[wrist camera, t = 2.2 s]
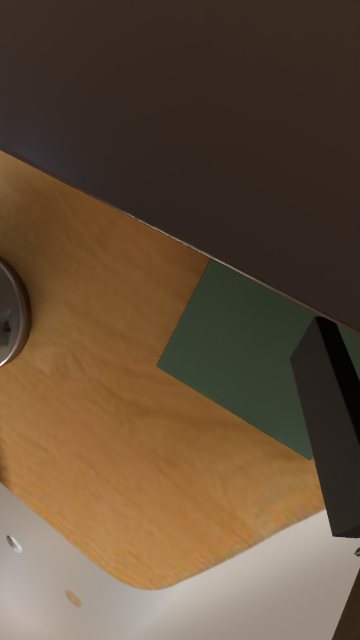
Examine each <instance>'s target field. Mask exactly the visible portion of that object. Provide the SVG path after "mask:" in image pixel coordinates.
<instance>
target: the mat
mask: <svg viewBox="0 0 360 640" xmlns="http://www.w3.org/2000/svg"><path fill="white" fill-rule="evenodd" d="M314 316H320V317H323V316H321V315H319V314H317V313H315V312H313V311H312V310H310V309H308V308H306V307H304V306H302V305H300V304H298V303H296V302H294V301H292V300H290V299H288V298H286V297H284V296H282V295H281V294H279V293H277V292H275V291H273V290H271V289H269V288H267V287H265V286H263V285H261V284H259V283H257V282H255V281H253V280H251V279H250V278H248V277H246V276H244V275H242V274H240V273H238V272H236V271H234V270H232V269H230V268H228V267H226V266H224V265H222V264H220V263H218V262H217V261H215V260H213V259H210V261H209V263H208V265H207V267H206V269H205V271H204V273H203V275H202V277H201V279H200V281H199V283H198V285H197V287H196V289H195V291H194V293H193V295H192V297H191V299H190V301H189V303H188V305H187V307H186V309H185V310H184V312H183V314H182V316H181V318H180V320H179V322H178V324H177V326H176V328H175V330H174V332H173V334H172V336H171V338H170V340H169V342H168V344H167V346H166V348H165V350H164V352H163V354H162V356H161V358H160V360H159V362H158V363H157V365H156V367H158V368H160V369H161V370H163V371H165V372H166V373H168V374H169V375H171V376H173V377H174V378H176V379H178V380H179V381H181V382H183V383H184V384H186V385H187V386H189V387H191V388H192V389H194V390H196V391H197V392H199V393H201V394H202V395H204V396H205V397H207V398H209V399H210V400H212V401H214V402H215V403H217V404H219V405H220V406H222V407H223V408H225V409H227V410H228V411H230V412H232V413H233V414H235V415H237V416H238V417H240V418H241V419H243V420H245V421H246V422H248V423H250V424H251V425H253V426H255V427H256V428H258V429H259V430H261V431H263V432H264V433H266V434H268V435H269V436H271V437H273V438H274V439H276V440H277V441H279V442H281V443H282V444H284V445H286V446H287V447H289V448H291V449H292V450H294V451H295V452H297V453H299V454H300V455H302V456H304V457H305V458H307V459H309V460H311V458H312V457H313V452H312V448H311V444H310V440H309V436H308V432H307V428H306V423H305V419H304V415H303V411H302V407H301V403H300V399H299V394H298V390H297V386H296V382H295V378H294V374H293V370H292V365H291V361H290V357H291V356H292V354H293V352H294V351H295V349H296V347H297V345H298V344H299V342H300V340H301V338H302V337H303V335H304V333H305V332H306V330H307V328H308V326H309V325H310V323H311V321H312V320H313V318H314ZM336 324H337V323H336ZM337 326H338V329H339V331H340V333H341V336H342V338H343V341H344V343H345V346H346V348H347V351H348V353H349V356H350V358H351V360H352V363H353V365H354V368H355V370H356V373H357V375H358V378H359V380H360V335H358V334H356V333H354V332H352V331H350V330H348V329H346V328H344V327H343V326H341V325H339V324H337Z"/></svg>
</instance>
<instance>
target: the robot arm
mask: <svg viewBox="0 0 360 640" xmlns="http://www.w3.org/2000/svg"><path fill="white" fill-rule="evenodd" d="M30 322H31V312H30V304H29V299H28V295H27V292H26V289H25V287H24V284H23V282H22V280H21V279H20V277H19V275H18V274H17V272H16V271H15V270H14V269H13V267H12V266H11V265H10V264H9V263H8V262H7V261H5V260H4V259H3V258H1V257H0V367H1V366H4V365H6V364H8V363H9V362H11V361H12V360H13V359H15V358H16V356H17V355H18V354H19V353H20V352H21V350H22V349H23V347H24V345H25V343H26V340H27V338H28V334H29V330H30ZM290 361H291V365H292V370H293V374H294V378H295V382H296V386H297V390H298V394H299V399H300V403H301V407H302V411H303V415H304V419H305V423H306V428H307V432H308V436H309V440H310V444H311V448H312V452H313V457H314V461H315V465H316V469H317V473H318V477H319V481H320V486H321V490H322V494H323V498H324V502H325V506H326V511H327V515H328V519H329V523H330V527H331V531H332V535H333V536H335V537H346V538H360V380H359V378H358V375H357V373H356V370H355V368H354V365H353V363H352V360H351V358H350V356H349V353H348V351H347V348H346V346H345V343H344V341H343V338H342V336H341V333H340V331H339V329H338V326H337V324H336V323H335V322H333V321H331V320H329V319H327V318H325V317H320V316H314V318H313V320H312V321H311V323H310V325H309V326H308V328H307V330H306V332H305V333H304V335H303V337H302V338H301V340H300V342H299V344H298V345H297V347H296V349H295V351H294V352H293V354H292V356H291V357H290ZM355 555H357V556H360V548H358V549H357V551H356V552H355ZM332 640H360V569H359V572H358V574H357V577H356V580H355V582H354V585H353V587H352V590H351V592H350V595H349V597H348V600H347V602H346V605H345V607H344V610H343V613H342V615H341V618H340V620H339V623H338V625H337V628H336V630H335V633H334V636H333V638H332Z"/></svg>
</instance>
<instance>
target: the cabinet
mask: <svg viewBox="0 0 360 640" xmlns="http://www.w3.org/2000/svg"><path fill="white" fill-rule="evenodd" d="M0 150H1V151H3V152H5V153H7V154H9V155H11V156H13V157H15V158H17V159H19V160H21V161H23V162H25V163H27V164H29V165H30V166H32V167H34V168H36V169H38V170H40V171H42V172H44V173H46V174H48V175H50V176H52V177H54V178H56V179H58V180H60V181H61V182H63V183H65V184H67V185H69V186H71V187H73V188H75V189H77V190H79V191H81V192H83V193H85V194H87V195H89V196H91V197H92V198H94V199H96V200H98V201H100V202H102V203H104V204H106V205H108V206H110V207H112V208H114V209H116V210H118V211H120V212H122V213H124V214H125V215H127V216H129V217H131V218H133V219H135V220H137V221H139V222H141V223H143V224H145V225H147V226H149V227H151V228H153V229H155V230H156V231H158V232H160V233H162V234H164V235H166V236H168V237H170V238H172V239H174V240H176V241H178V242H180V243H182V244H184V245H186V246H187V247H189V248H191V249H193V250H195V251H197V252H199V253H201V254H203V255H205V256H207V257H209V258H211V259H213V260H215V261H217V262H218V263H220V264H222V265H224V266H226V267H228V268H230V269H232V270H234V271H236V272H238V273H240V274H242V275H244V276H246V277H248V278H250V279H251V280H253V281H255V282H257V283H259V284H261V285H263V286H265V287H267V288H269V289H271V290H273V291H275V292H277V293H279V294H281V295H282V296H284V297H286V298H288V299H290V300H292V301H294V302H296V303H298V304H300V305H302V306H304V307H306V308H308V309H310V310H312V311H313V312H315V313H317V314H319V315H321V316H323V317H325V318H327V319H329V320H331V321H333V322H335V323H337V324H339V325H341V326H343V327H344V328H346V329H348V330H350V331H352V332H354V333H356V334H358V335H360V0H0Z"/></svg>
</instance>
